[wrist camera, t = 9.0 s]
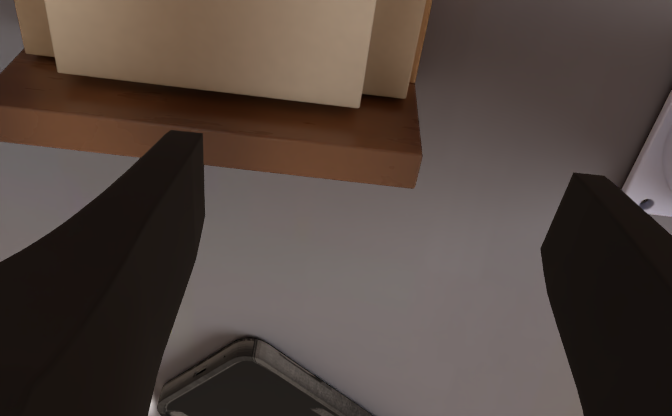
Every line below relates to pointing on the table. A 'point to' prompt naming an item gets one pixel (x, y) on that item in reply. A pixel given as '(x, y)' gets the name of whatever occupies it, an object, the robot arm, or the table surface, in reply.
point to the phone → (252, 387)
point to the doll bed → (225, 82)
